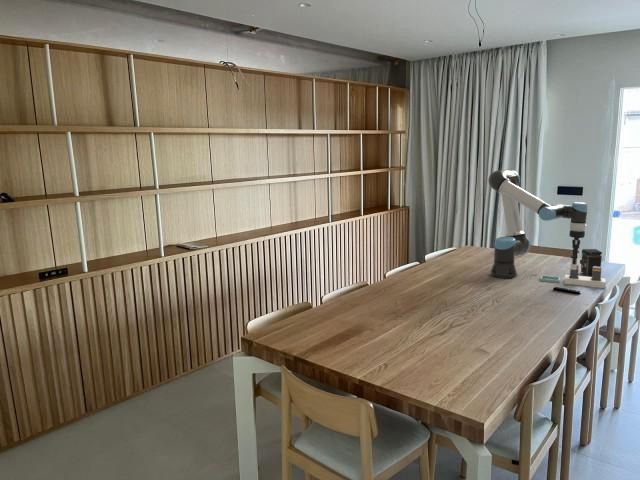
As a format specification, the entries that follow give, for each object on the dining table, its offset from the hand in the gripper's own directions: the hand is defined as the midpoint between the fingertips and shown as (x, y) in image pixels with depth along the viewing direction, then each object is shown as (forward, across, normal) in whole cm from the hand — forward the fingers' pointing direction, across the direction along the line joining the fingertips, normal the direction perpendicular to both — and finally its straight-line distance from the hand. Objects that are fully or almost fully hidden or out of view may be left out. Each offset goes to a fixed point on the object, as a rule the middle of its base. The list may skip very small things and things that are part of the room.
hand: (573, 266), depth 266 cm
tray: (+10, 0, +11) cm, 15 cm away
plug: (+9, 0, -1) cm, 9 cm away
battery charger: (+9, 0, -6) cm, 11 cm away
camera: (+10, +26, -9) cm, 29 cm away
